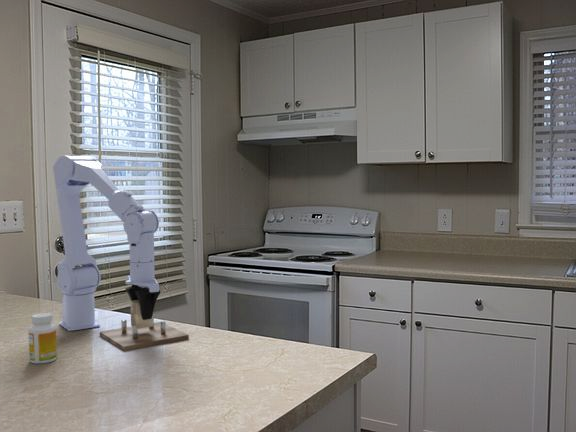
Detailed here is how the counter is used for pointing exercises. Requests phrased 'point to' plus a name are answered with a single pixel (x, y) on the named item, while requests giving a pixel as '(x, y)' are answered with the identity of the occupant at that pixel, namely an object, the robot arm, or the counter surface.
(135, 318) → the block
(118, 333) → the peg board
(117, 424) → the counter surface
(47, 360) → the supplement bottle
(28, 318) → the counter surface
